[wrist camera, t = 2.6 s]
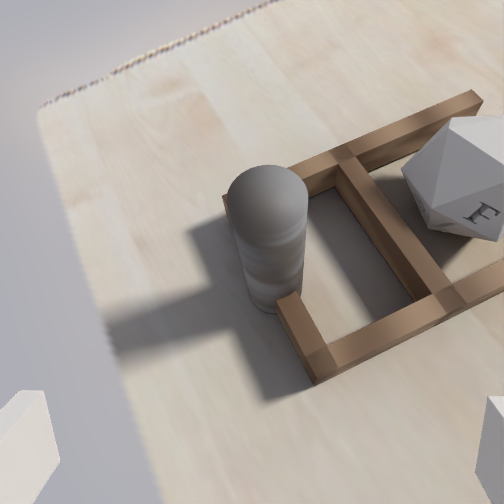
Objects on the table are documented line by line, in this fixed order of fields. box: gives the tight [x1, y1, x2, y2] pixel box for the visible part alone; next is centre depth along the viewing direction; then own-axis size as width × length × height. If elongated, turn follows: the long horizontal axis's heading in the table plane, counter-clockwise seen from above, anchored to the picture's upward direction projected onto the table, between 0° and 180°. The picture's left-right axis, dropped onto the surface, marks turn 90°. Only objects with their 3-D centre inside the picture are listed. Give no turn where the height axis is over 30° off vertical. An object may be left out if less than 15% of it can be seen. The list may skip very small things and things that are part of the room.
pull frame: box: [222, 90, 504, 386], centre depth 26 cm, size 24×15×12 cm, turn 115°
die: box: [401, 115, 504, 242], centre depth 29 cm, size 8×9×10 cm
